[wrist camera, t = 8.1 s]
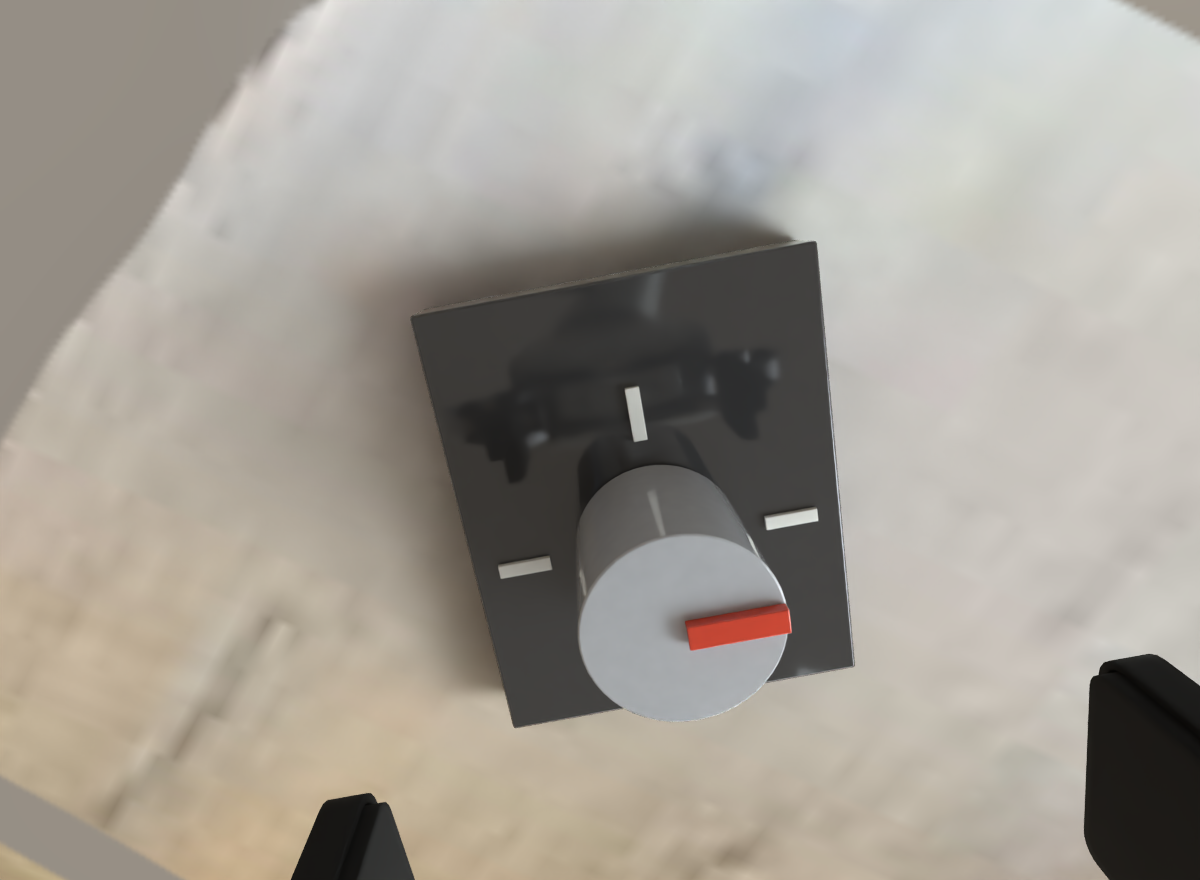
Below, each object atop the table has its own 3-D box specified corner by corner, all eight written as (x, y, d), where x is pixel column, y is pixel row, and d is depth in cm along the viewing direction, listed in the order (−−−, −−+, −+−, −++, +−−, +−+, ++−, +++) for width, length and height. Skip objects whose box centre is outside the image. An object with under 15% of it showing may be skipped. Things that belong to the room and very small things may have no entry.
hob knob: (591, 628, 20) (598, 749, 15) (561, 480, 18) (558, 562, 14) (748, 600, 20) (803, 712, 15) (728, 450, 18) (782, 522, 14)
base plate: (431, 304, 20) (407, 317, 17) (782, 238, 20) (820, 240, 17) (520, 668, 23) (513, 733, 20) (820, 614, 23) (858, 671, 20)
